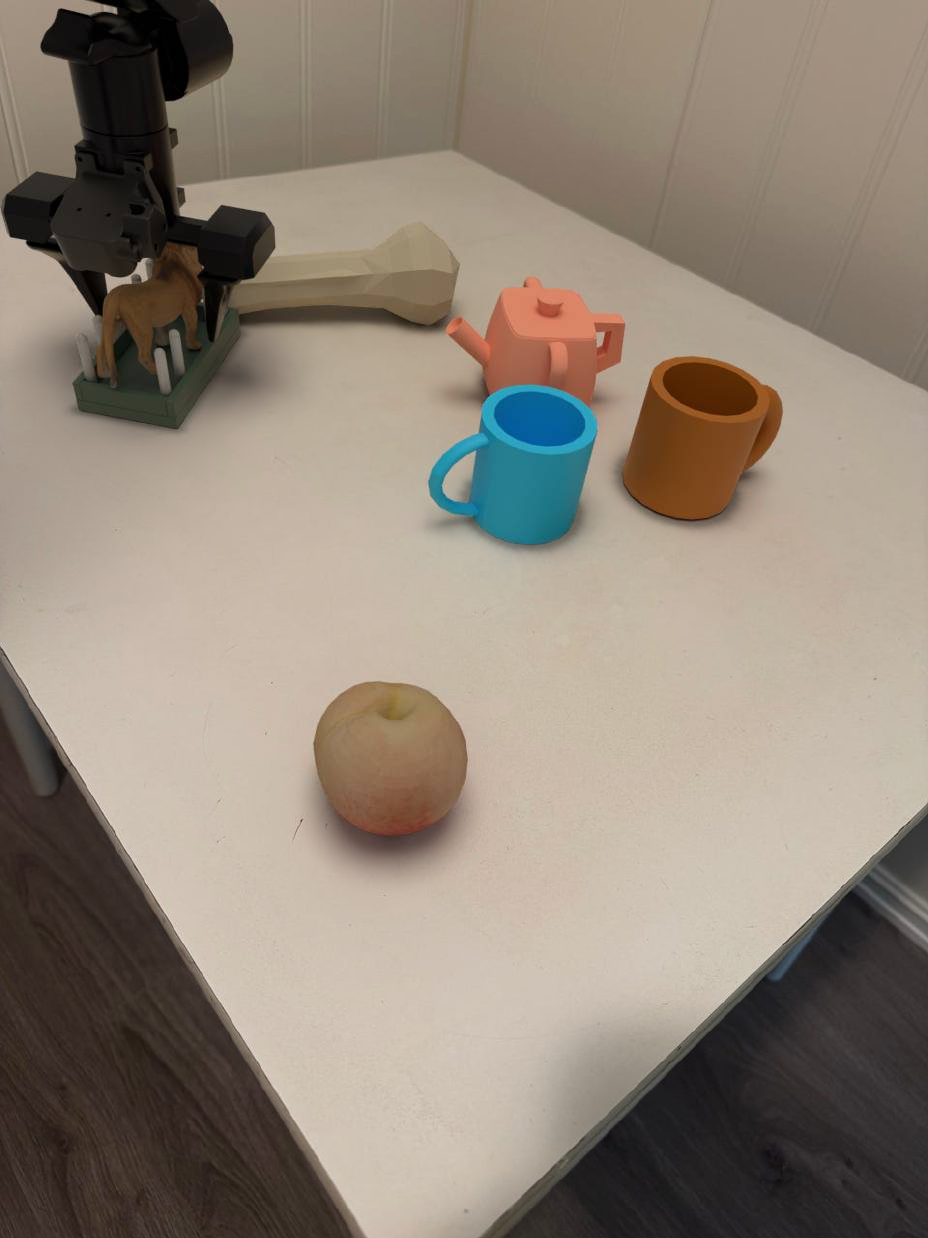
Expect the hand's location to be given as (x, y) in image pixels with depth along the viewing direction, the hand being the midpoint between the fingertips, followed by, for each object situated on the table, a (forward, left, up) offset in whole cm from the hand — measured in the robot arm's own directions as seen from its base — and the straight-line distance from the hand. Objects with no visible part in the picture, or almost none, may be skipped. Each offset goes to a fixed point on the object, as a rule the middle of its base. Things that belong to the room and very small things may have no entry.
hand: (158, 329), depth 71 cm
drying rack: (0, 0, -4) cm, 4 cm away
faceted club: (+10, +14, -4) cm, 18 cm away
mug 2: (+45, -2, -4) cm, 45 cm away
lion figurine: (0, -1, -2) cm, 2 cm away
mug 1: (+30, -10, -4) cm, 32 cm away
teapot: (+30, +6, -4) cm, 31 cm away
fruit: (+27, -36, -4) cm, 45 cm away
